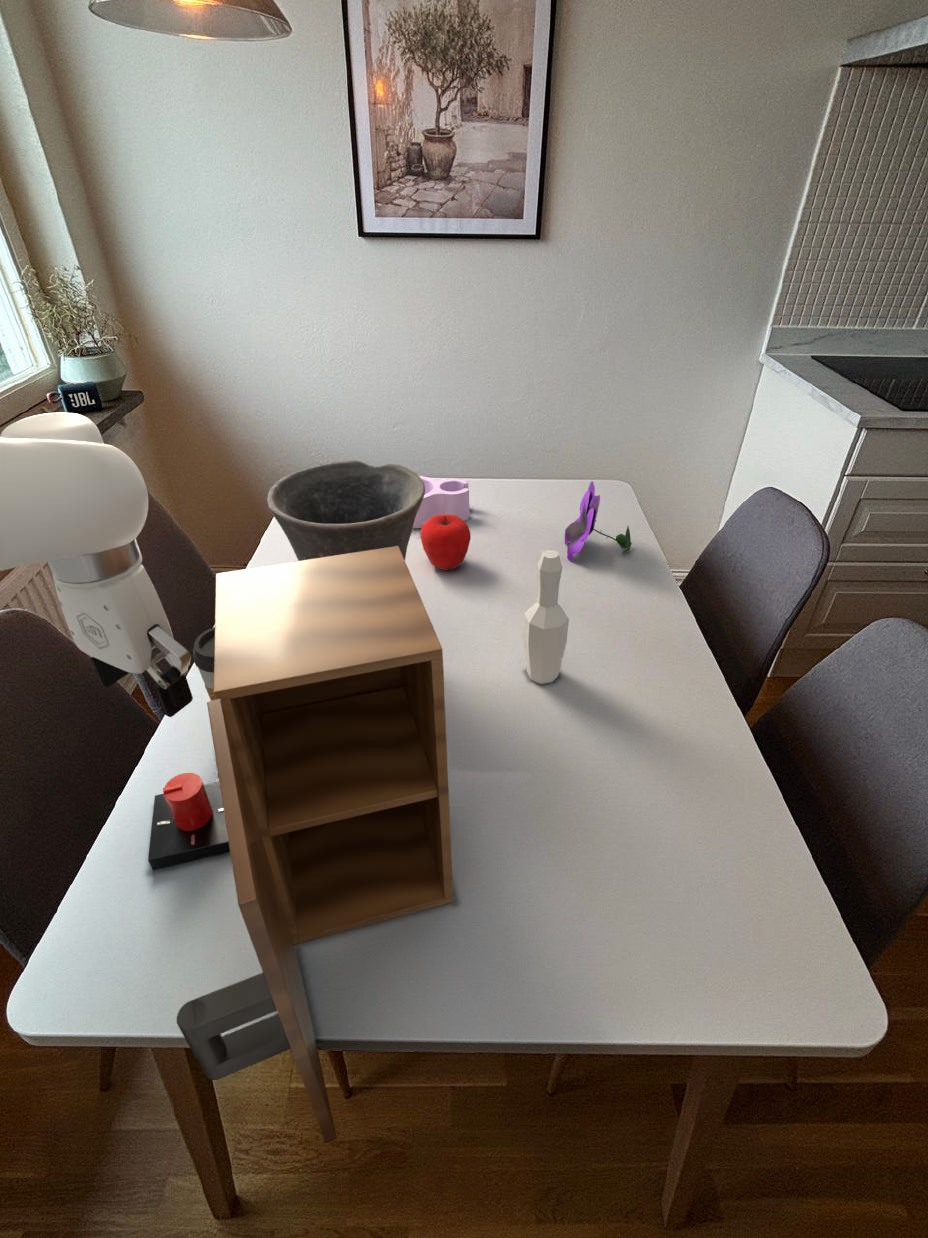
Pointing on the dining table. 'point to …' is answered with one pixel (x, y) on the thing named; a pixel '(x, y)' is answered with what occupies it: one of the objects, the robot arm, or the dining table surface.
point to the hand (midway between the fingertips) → (147, 693)
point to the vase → (346, 508)
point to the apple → (445, 540)
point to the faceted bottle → (546, 623)
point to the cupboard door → (273, 949)
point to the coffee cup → (206, 659)
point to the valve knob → (188, 801)
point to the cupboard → (339, 735)
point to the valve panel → (187, 834)
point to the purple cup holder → (443, 499)
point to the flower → (589, 525)
